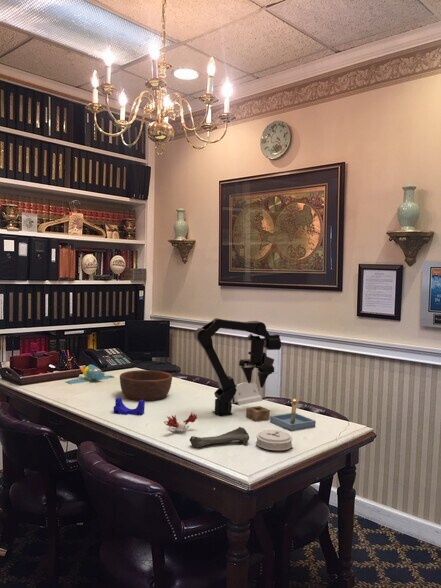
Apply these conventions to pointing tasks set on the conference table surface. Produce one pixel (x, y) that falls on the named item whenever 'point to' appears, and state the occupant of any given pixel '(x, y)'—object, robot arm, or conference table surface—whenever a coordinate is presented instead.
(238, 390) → the hinge
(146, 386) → the wooden bowl
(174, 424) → the figurine
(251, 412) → the pin block
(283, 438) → the lid
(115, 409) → the cable clip
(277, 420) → the tray
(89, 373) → the blue toy parrot
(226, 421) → the conference table surface
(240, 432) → the bone
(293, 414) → the brass pin
